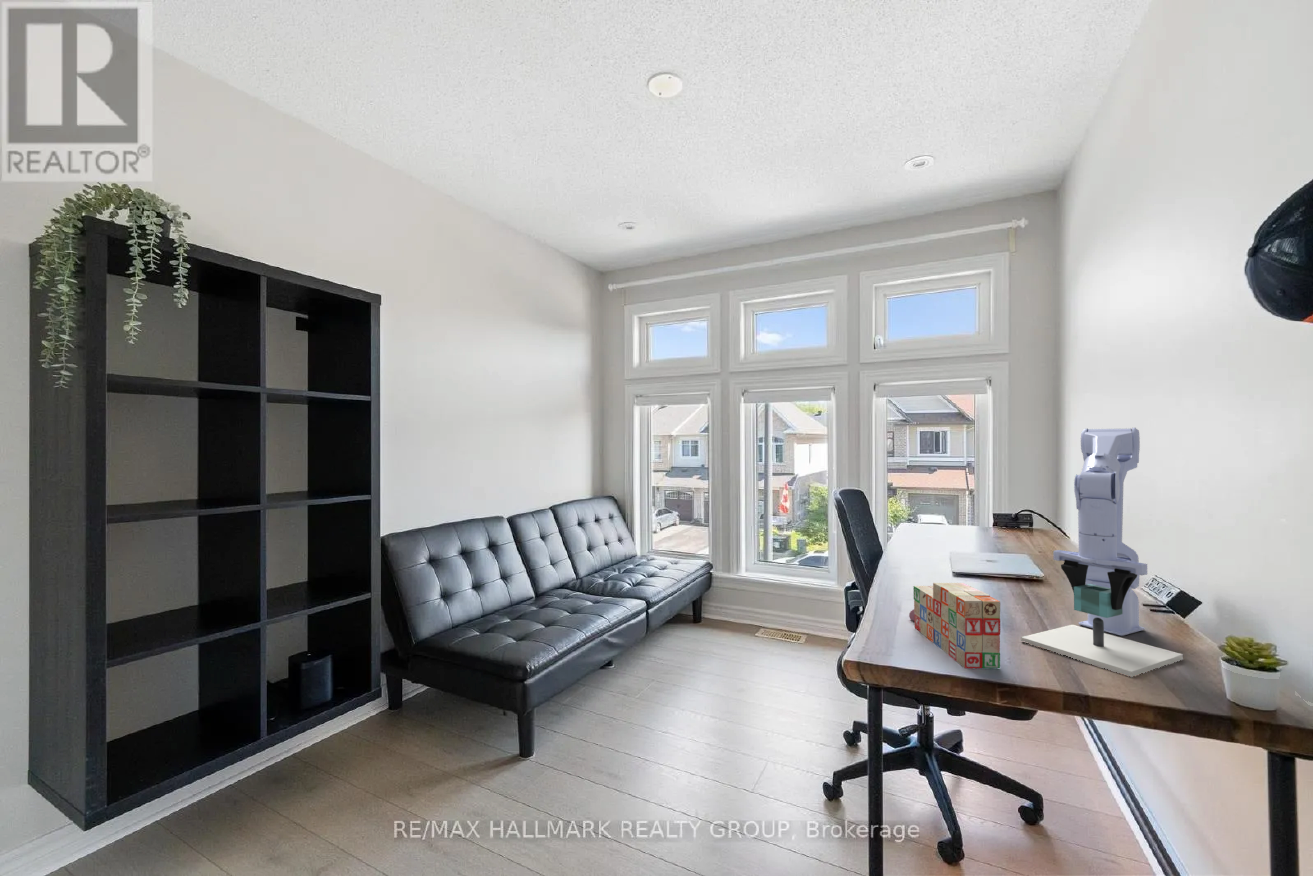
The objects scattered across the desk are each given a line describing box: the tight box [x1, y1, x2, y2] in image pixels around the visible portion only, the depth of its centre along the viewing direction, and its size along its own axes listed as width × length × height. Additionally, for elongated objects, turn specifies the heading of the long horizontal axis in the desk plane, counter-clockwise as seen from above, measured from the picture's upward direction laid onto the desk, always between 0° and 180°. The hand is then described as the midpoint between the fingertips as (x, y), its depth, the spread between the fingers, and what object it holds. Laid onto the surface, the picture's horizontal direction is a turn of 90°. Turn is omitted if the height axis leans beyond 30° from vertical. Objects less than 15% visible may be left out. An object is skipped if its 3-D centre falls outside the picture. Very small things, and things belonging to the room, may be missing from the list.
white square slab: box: [1020, 618, 1184, 678], centre depth 102 cm, size 18×18×6 cm
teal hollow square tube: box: [1073, 584, 1122, 618], centre depth 102 cm, size 5×5×4 cm
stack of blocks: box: [913, 582, 1001, 669], centre depth 104 cm, size 21×6×12 cm, turn 177°
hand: (1098, 604), depth 102 cm, fingers closed on teal hollow square tube, 5 cm apart
